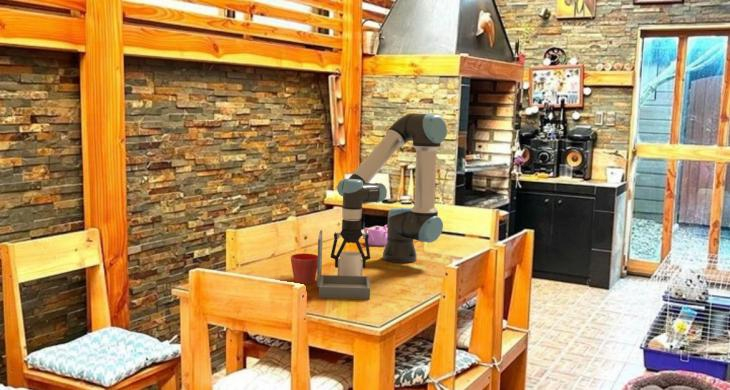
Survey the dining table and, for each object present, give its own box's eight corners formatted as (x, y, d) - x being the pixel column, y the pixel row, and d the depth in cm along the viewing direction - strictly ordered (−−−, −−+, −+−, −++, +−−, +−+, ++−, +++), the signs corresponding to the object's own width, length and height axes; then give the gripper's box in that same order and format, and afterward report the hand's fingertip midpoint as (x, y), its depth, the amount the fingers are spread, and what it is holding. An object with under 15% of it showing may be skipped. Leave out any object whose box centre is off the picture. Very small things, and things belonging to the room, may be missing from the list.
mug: (341, 273, 283) (342, 248, 282) (362, 275, 282) (362, 249, 281) (338, 281, 271) (338, 255, 270) (359, 282, 270) (360, 256, 269)
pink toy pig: (386, 241, 352) (387, 224, 351) (391, 247, 338) (392, 229, 337) (362, 241, 350) (363, 223, 349) (366, 247, 337) (367, 229, 335)
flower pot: (307, 286, 263) (308, 260, 261) (284, 281, 268) (285, 256, 267) (324, 280, 272) (324, 256, 270) (301, 276, 277) (301, 252, 276)
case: (368, 285, 267) (370, 231, 264) (369, 299, 248) (371, 240, 245) (317, 284, 266) (319, 229, 263) (315, 297, 248) (316, 239, 245)
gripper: (378, 218, 278) (376, 274, 281) (325, 216, 277) (323, 272, 280) (379, 221, 270) (376, 279, 273) (324, 219, 270) (322, 277, 273)
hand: (349, 276), depth 277 cm, fingers closed on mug, 8 cm apart
